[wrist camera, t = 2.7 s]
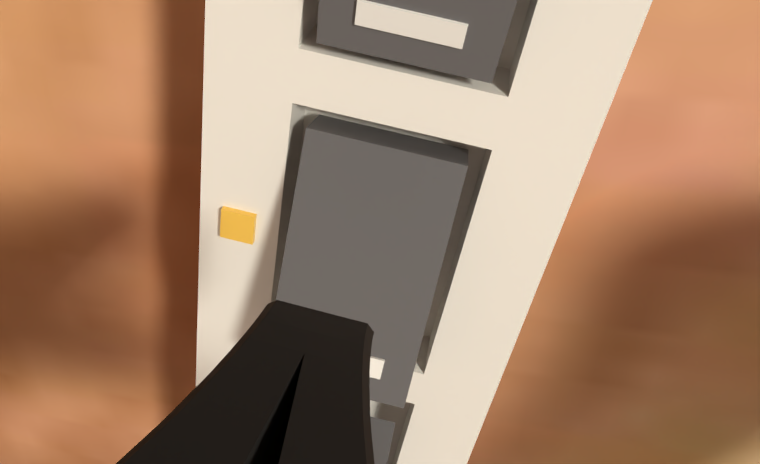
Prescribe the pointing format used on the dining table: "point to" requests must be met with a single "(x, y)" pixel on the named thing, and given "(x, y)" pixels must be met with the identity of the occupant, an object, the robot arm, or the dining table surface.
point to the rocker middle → (372, 237)
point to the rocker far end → (381, 439)
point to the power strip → (422, 120)
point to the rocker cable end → (421, 32)
